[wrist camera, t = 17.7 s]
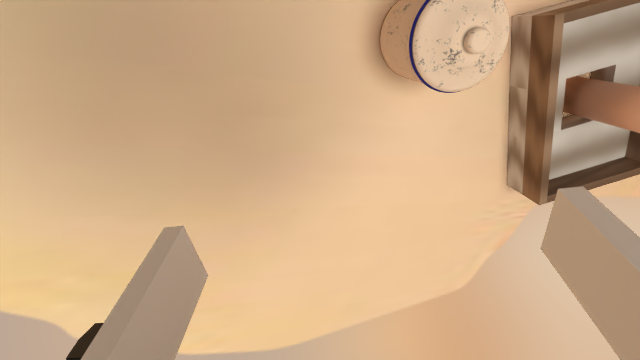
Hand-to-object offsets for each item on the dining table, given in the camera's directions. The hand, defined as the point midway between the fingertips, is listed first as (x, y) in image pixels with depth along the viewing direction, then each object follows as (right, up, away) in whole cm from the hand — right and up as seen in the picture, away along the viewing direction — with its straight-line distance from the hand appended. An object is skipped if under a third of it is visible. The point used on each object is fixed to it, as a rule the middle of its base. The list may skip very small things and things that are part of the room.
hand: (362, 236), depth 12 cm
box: (+30, +13, +30) cm, 45 cm away
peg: (+30, +13, +30) cm, 45 cm away
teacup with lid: (+9, +19, +24) cm, 32 cm away
